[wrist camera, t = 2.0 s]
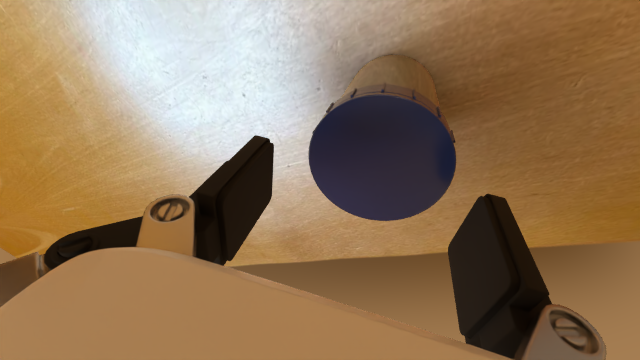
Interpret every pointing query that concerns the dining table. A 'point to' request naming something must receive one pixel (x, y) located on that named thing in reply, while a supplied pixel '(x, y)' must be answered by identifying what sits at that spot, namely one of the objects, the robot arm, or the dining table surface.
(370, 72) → the jam jar
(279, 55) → the dining table surface
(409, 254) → the dining table surface
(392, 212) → the jar lid
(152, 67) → the dining table surface
